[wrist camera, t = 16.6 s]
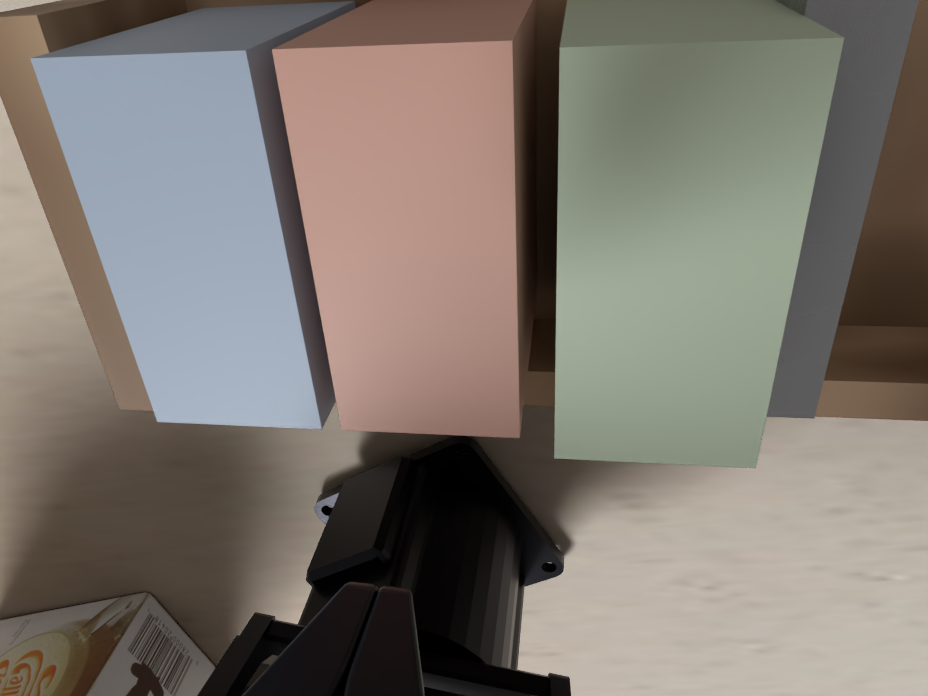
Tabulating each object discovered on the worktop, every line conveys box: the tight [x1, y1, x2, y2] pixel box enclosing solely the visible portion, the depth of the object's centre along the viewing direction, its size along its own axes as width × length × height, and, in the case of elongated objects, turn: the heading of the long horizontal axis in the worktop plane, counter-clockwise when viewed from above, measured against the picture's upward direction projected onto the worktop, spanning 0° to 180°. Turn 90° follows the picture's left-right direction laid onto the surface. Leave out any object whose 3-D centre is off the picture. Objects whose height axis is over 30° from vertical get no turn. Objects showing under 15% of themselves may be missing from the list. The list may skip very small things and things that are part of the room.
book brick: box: [272, 0, 537, 438], centre depth 15 cm, size 4×7×6 cm, turn 3°
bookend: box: [766, 0, 919, 418], centre depth 14 cm, size 2×8×4 cm, turn 3°
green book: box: [554, 0, 844, 468], centre depth 14 cm, size 4×7×6 cm, turn 3°
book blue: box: [30, 1, 356, 429], centre depth 15 cm, size 4×7×6 cm, turn 3°
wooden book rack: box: [0, 0, 928, 421], centre depth 15 cm, size 24×10×6 cm, turn 93°
